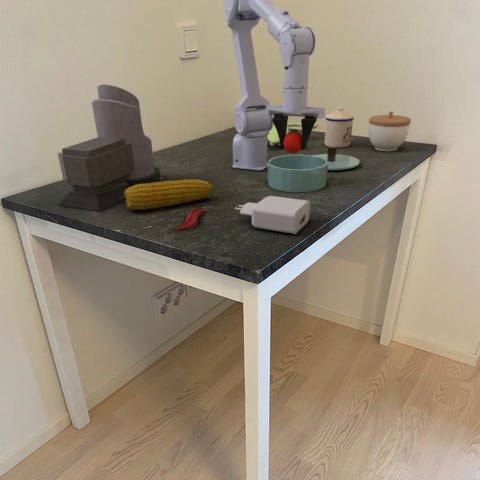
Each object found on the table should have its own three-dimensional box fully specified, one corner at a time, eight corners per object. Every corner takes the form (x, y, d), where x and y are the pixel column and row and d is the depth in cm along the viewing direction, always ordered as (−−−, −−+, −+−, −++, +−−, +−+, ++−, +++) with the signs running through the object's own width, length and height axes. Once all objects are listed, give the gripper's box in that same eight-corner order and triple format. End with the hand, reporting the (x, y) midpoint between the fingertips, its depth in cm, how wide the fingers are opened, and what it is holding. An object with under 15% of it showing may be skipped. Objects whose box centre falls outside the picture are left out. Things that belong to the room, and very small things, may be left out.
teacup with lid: (347, 149, 155) (351, 110, 149) (320, 147, 158) (322, 109, 152) (355, 141, 165) (359, 104, 158) (329, 139, 168) (332, 103, 161)
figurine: (319, 136, 172) (321, 119, 169) (300, 153, 151) (301, 135, 148) (271, 133, 178) (271, 117, 175) (245, 150, 157) (245, 132, 154)
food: (131, 216, 107) (127, 190, 104) (124, 209, 111) (120, 183, 108) (216, 200, 115) (215, 175, 112) (207, 194, 119) (205, 169, 116)
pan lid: (295, 168, 137) (296, 150, 134) (313, 155, 149) (314, 138, 146) (351, 174, 131) (353, 155, 128) (365, 160, 143) (367, 142, 140)
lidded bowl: (411, 146, 156) (417, 110, 150) (399, 155, 147) (405, 116, 142) (373, 142, 162) (377, 107, 156) (360, 150, 153) (364, 113, 147)
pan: (258, 188, 122) (258, 166, 119) (280, 172, 134) (280, 152, 131) (315, 195, 117) (317, 172, 114) (333, 178, 128) (335, 157, 125)
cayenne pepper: (183, 231, 99) (182, 223, 98) (166, 227, 101) (165, 219, 100) (216, 213, 107) (215, 205, 106) (199, 210, 109) (198, 202, 108)
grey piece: (126, 171, 138) (112, 77, 125) (174, 177, 132) (165, 78, 119) (53, 204, 115) (26, 92, 102) (107, 212, 109) (86, 95, 96)
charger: (246, 211, 108) (309, 220, 102) (227, 225, 101) (293, 236, 95) (246, 190, 106) (310, 199, 100) (226, 203, 99) (294, 213, 93)
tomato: (279, 154, 120) (280, 131, 117) (287, 149, 124) (287, 127, 121) (299, 156, 118) (300, 132, 115) (306, 151, 122) (307, 128, 119)
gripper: (260, 88, 113) (260, 148, 120) (320, 90, 107) (316, 153, 115) (272, 85, 118) (271, 142, 125) (329, 86, 113) (324, 146, 120)
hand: (293, 147), depth 120 cm, fingers closed on tomato, 5 cm apart
